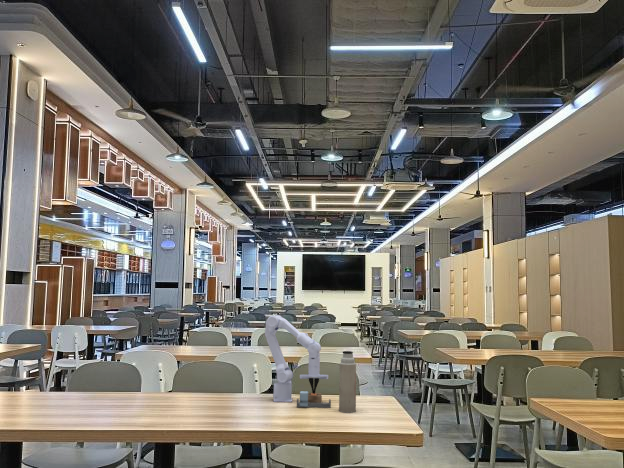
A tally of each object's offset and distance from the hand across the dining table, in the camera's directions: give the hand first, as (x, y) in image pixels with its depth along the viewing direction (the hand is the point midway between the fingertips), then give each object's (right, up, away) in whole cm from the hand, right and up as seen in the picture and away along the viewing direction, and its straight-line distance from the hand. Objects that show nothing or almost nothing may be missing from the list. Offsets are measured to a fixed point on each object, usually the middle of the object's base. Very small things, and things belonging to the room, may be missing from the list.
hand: (313, 393), depth 287 cm
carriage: (-5, -3, -11) cm, 13 cm away
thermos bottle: (+16, -3, -19) cm, 25 cm away
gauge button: (0, -3, 0) cm, 3 cm away
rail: (0, -3, -11) cm, 12 cm away
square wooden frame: (0, -5, 0) cm, 5 cm away
